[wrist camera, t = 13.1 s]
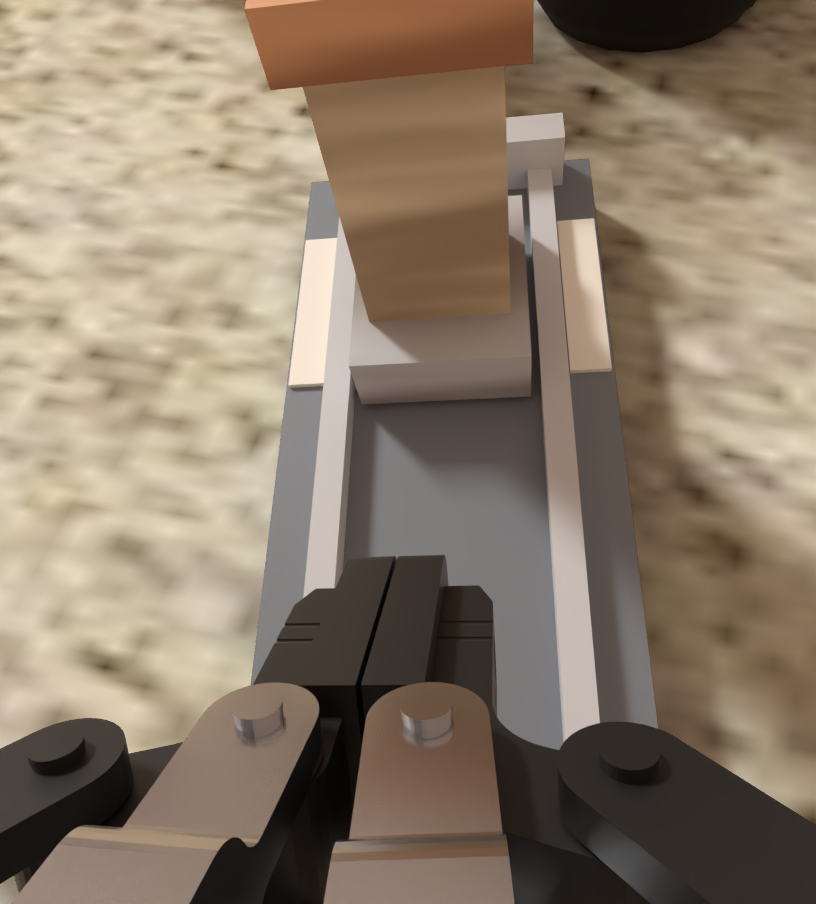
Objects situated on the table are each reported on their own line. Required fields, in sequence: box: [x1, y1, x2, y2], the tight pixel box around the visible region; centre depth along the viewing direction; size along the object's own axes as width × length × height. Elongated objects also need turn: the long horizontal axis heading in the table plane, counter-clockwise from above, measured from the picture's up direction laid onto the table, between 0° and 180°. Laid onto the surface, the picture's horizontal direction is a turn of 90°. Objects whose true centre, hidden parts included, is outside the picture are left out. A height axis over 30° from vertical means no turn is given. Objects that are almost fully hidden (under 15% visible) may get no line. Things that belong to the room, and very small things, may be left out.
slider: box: [244, 0, 533, 404], centre depth 19 cm, size 6×5×12 cm
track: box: [251, 112, 658, 750], centre depth 21 cm, size 28×10×4 cm, turn 178°
